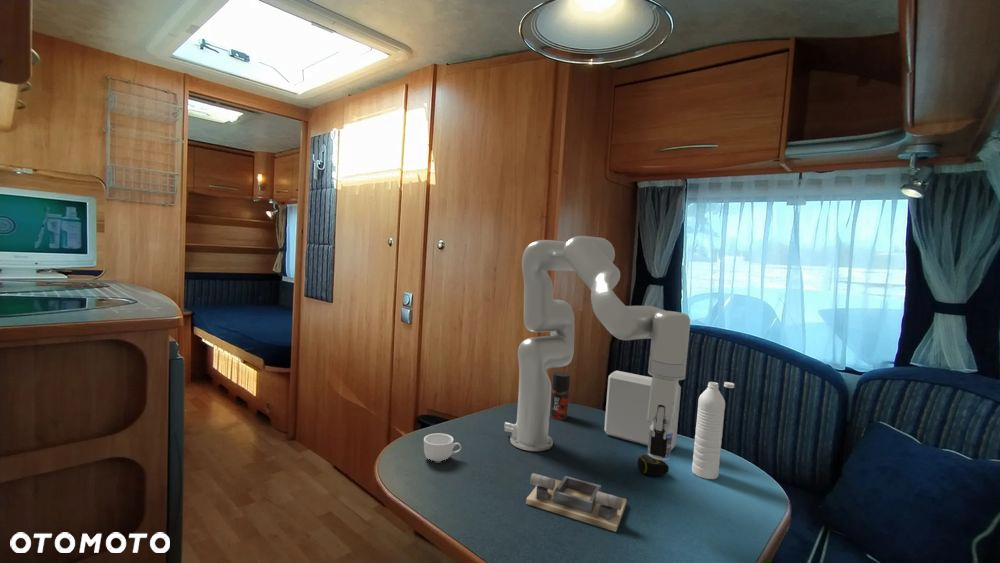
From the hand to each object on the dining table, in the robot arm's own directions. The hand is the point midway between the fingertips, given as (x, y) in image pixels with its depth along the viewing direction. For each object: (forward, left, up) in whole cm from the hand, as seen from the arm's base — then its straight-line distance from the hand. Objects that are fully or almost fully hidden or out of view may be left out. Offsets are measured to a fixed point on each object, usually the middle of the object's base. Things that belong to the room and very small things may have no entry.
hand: (659, 449), depth 100 cm
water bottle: (+11, +29, -15) cm, 35 cm away
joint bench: (-16, -4, -15) cm, 22 cm away
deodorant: (-37, +47, -15) cm, 62 cm away
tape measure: (-3, +22, -15) cm, 27 cm away
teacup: (-54, -2, -15) cm, 56 cm away
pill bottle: (0, 0, -2) cm, 2 cm away
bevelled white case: (-9, +42, -15) cm, 46 cm away
